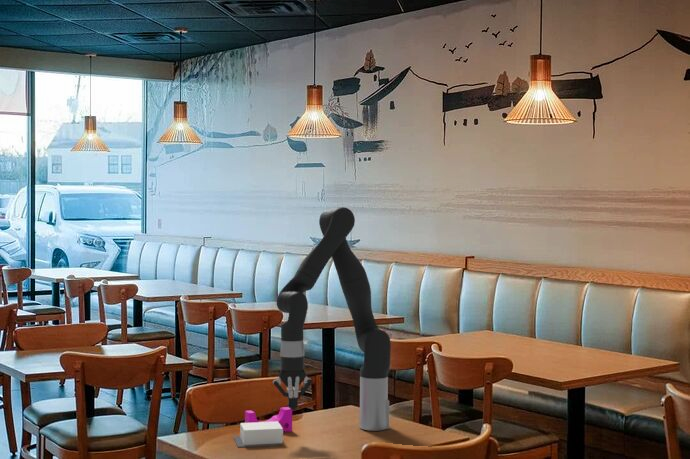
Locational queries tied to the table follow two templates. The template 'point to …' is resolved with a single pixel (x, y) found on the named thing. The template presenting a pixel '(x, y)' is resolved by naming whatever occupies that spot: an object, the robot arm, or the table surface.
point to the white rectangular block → (261, 433)
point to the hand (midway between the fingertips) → (292, 409)
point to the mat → (240, 444)
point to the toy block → (274, 418)
